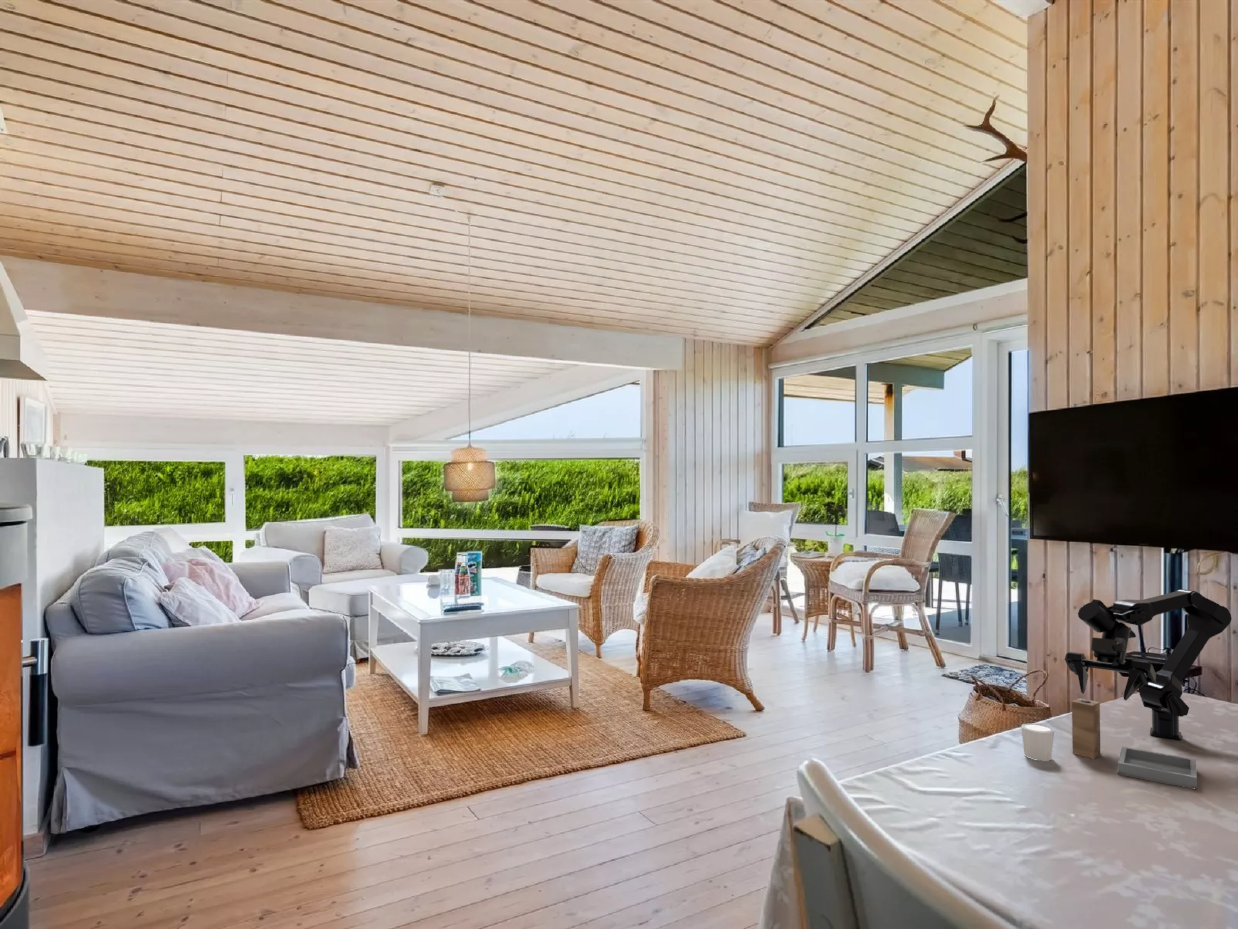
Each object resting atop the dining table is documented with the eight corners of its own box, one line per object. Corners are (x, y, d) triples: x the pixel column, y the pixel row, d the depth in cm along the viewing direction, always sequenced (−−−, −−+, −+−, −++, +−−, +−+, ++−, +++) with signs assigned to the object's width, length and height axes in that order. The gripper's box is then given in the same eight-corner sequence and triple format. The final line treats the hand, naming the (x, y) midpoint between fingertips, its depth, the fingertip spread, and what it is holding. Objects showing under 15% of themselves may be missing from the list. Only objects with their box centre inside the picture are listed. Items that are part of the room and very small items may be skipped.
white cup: (1046, 752, 181) (1045, 723, 181) (1060, 763, 174) (1059, 732, 174) (1016, 751, 181) (1016, 722, 182) (1029, 761, 174) (1028, 731, 175)
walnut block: (1079, 749, 183) (1079, 697, 184) (1100, 754, 180) (1099, 701, 180) (1072, 753, 180) (1071, 700, 181) (1093, 758, 177) (1092, 704, 177)
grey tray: (1122, 756, 178) (1122, 746, 178) (1196, 770, 170) (1195, 759, 170) (1118, 774, 167) (1117, 762, 167) (1196, 789, 159) (1196, 777, 159)
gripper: (1064, 620, 195) (1051, 671, 188) (1149, 628, 181) (1139, 684, 174) (1077, 645, 200) (1065, 696, 193) (1160, 655, 186) (1151, 710, 179)
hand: (1103, 696), depth 184 cm, fingers open, 9 cm apart
